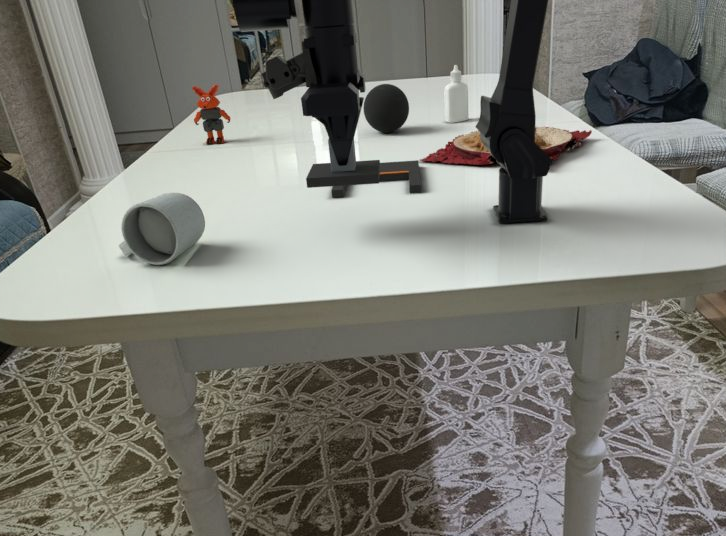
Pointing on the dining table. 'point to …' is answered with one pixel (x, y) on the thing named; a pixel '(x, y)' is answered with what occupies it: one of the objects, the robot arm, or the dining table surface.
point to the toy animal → (210, 114)
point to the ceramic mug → (162, 228)
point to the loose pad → (343, 171)
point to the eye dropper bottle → (456, 98)
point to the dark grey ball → (386, 108)
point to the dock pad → (392, 176)
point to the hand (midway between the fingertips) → (343, 162)
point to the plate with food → (475, 152)
